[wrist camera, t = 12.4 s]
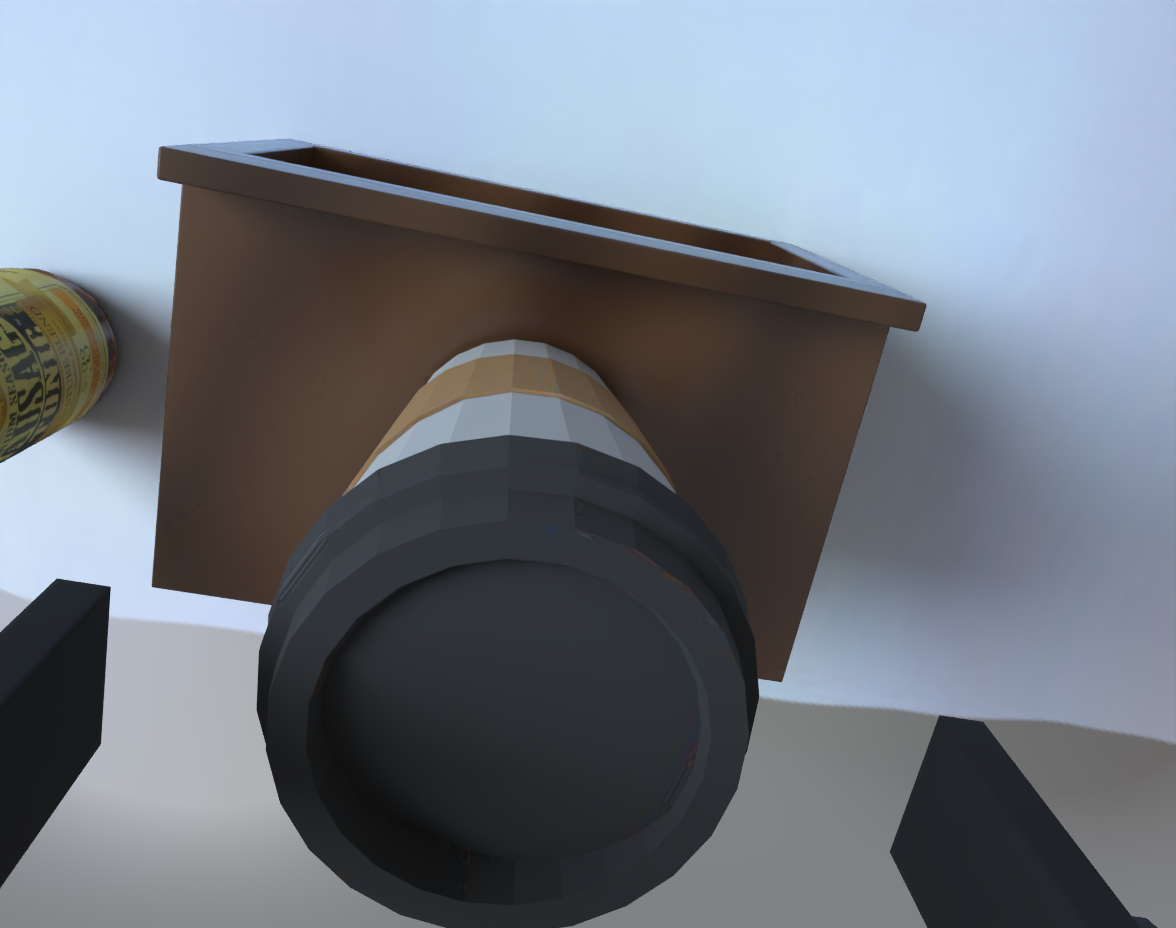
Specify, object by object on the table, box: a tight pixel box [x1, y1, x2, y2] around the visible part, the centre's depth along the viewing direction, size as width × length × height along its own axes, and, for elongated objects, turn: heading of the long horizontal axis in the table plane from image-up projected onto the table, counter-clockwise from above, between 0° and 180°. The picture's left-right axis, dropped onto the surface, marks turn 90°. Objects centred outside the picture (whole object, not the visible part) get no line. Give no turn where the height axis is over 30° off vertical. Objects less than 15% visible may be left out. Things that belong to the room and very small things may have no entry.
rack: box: [152, 139, 926, 682], centre depth 34 cm, size 20×13×14 cm, turn 78°
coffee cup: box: [257, 340, 759, 928], centre depth 22 cm, size 8×8×15 cm
